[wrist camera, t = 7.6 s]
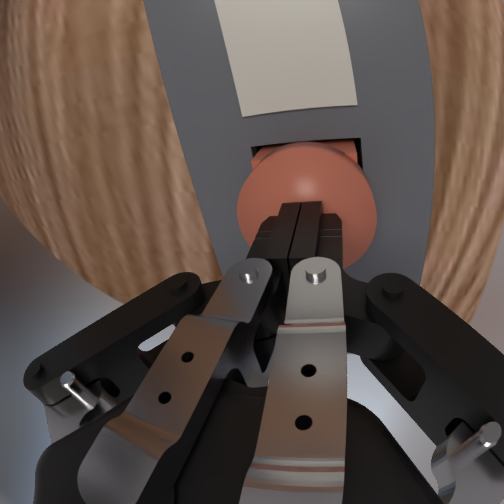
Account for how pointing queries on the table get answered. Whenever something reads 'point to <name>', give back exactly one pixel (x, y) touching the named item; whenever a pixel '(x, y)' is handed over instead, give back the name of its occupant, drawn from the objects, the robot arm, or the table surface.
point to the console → (303, 106)
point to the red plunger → (311, 189)
